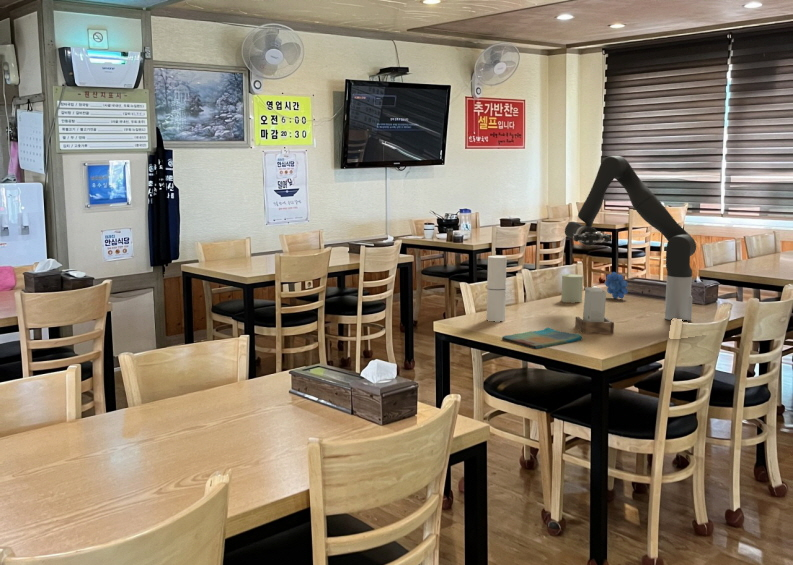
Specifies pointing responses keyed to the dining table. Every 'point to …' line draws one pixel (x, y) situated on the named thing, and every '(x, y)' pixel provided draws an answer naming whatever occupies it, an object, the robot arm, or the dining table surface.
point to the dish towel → (542, 338)
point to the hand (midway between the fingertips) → (596, 239)
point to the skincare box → (594, 304)
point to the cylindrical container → (496, 288)
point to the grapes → (616, 285)
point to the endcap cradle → (595, 326)
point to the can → (572, 288)
